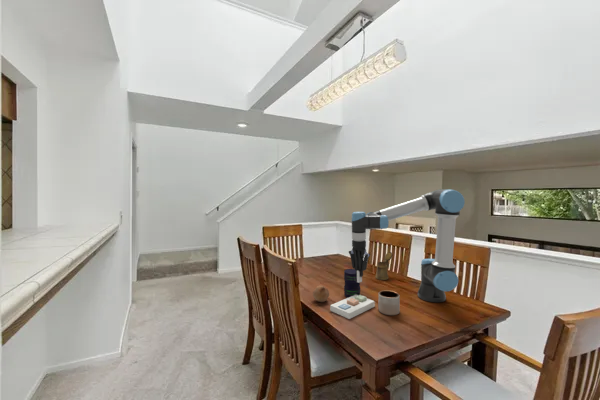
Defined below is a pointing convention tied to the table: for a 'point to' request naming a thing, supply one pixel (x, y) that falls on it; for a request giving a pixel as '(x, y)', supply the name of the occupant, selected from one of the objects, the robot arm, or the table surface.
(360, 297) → the button two dots
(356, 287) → the navy blue cylinder
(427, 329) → the table surface
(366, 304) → the button panel
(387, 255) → the wooden mug
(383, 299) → the planter
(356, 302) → the button three dots
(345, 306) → the button one dot
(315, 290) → the onion
